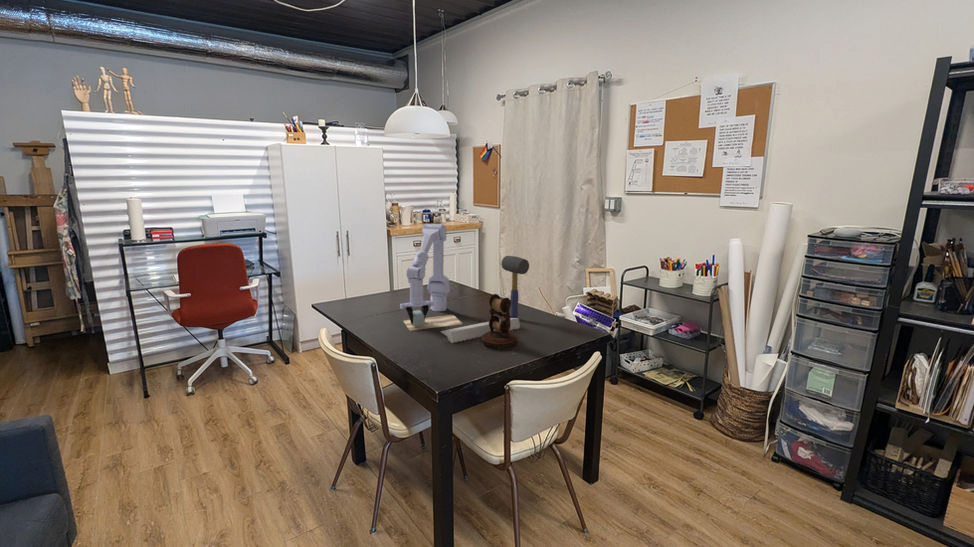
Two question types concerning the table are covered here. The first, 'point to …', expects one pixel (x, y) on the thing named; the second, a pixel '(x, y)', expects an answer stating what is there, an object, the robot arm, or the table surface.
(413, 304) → the robot arm
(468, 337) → the decorative molding
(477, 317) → the table surface
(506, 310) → the wooden spool holder
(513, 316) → the rubber mallet
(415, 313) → the block
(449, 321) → the birch board
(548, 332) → the table surface
